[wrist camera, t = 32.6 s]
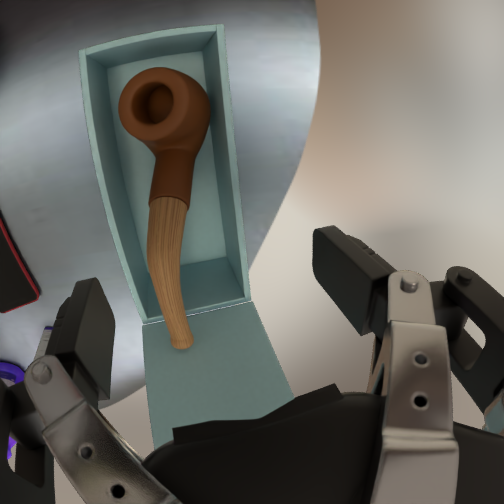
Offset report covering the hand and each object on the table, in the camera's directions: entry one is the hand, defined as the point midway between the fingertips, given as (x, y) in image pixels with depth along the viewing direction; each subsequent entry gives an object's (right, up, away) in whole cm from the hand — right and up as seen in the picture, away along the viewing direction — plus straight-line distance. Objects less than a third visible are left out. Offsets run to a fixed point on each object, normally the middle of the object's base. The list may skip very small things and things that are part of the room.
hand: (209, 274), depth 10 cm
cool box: (-6, +8, +14) cm, 17 cm away
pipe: (-3, +7, +14) cm, 16 cm away
